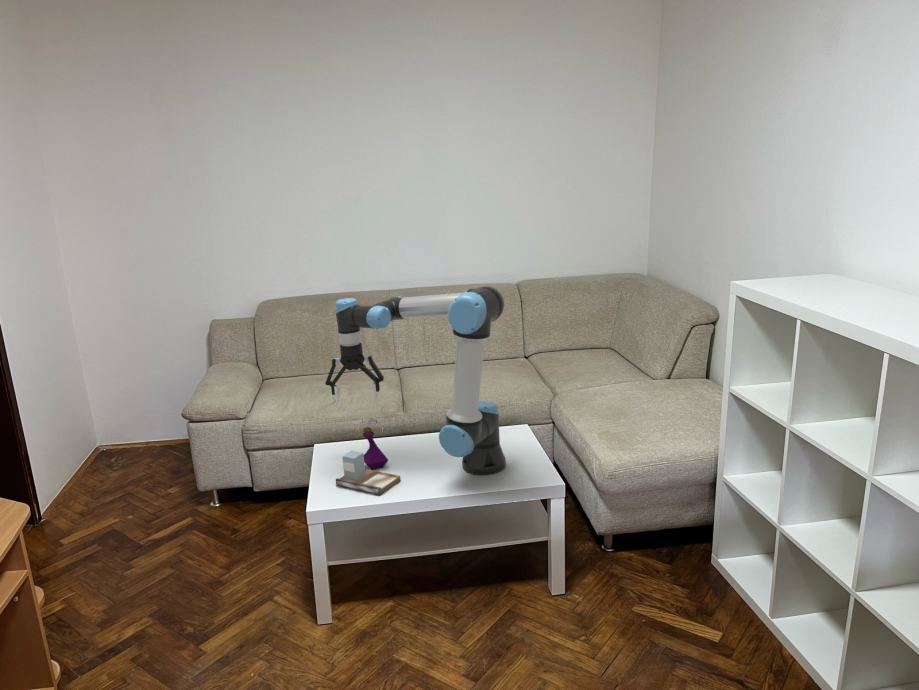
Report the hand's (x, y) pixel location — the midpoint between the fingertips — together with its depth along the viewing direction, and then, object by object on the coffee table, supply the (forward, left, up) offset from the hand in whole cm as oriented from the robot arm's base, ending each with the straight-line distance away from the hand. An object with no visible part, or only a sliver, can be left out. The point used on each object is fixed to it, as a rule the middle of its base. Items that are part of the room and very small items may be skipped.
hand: (357, 402), depth 253 cm
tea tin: (-8, +14, -21) cm, 26 cm away
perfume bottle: (-7, +1, -23) cm, 24 cm away
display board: (-13, +13, -23) cm, 29 cm away
